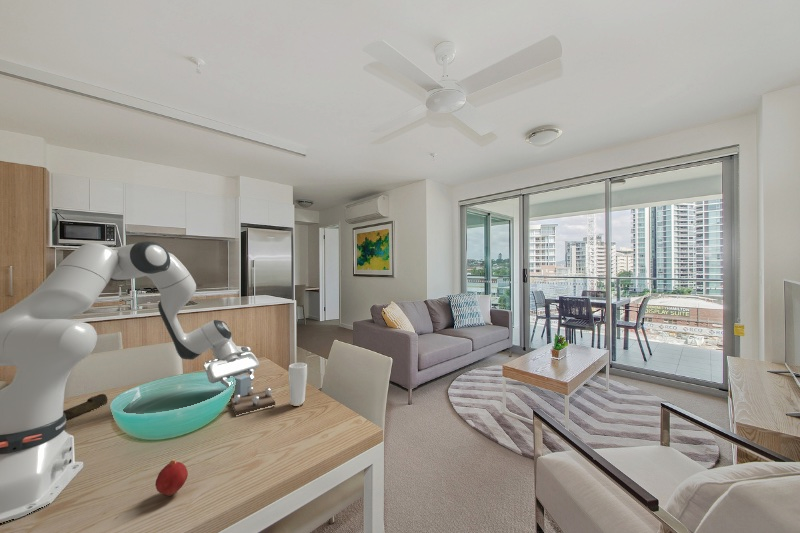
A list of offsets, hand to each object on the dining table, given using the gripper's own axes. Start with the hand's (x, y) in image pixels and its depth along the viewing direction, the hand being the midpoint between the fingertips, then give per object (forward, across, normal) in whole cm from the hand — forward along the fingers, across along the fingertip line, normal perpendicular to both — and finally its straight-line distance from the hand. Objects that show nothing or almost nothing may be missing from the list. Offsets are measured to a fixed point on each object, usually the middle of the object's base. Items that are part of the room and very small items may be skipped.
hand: (241, 383), depth 122 cm
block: (+4, 0, +3) cm, 5 cm away
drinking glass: (+22, +6, -14) cm, 26 cm away
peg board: (+12, -3, -4) cm, 13 cm away
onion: (+29, -41, -22) cm, 55 cm away
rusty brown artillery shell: (-21, -38, +28) cm, 52 cm away
